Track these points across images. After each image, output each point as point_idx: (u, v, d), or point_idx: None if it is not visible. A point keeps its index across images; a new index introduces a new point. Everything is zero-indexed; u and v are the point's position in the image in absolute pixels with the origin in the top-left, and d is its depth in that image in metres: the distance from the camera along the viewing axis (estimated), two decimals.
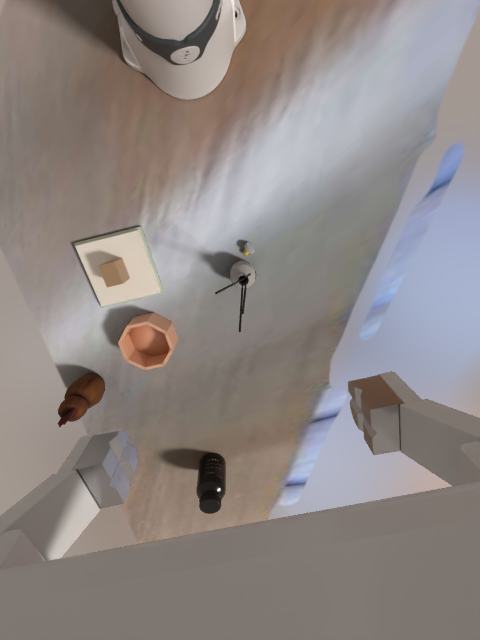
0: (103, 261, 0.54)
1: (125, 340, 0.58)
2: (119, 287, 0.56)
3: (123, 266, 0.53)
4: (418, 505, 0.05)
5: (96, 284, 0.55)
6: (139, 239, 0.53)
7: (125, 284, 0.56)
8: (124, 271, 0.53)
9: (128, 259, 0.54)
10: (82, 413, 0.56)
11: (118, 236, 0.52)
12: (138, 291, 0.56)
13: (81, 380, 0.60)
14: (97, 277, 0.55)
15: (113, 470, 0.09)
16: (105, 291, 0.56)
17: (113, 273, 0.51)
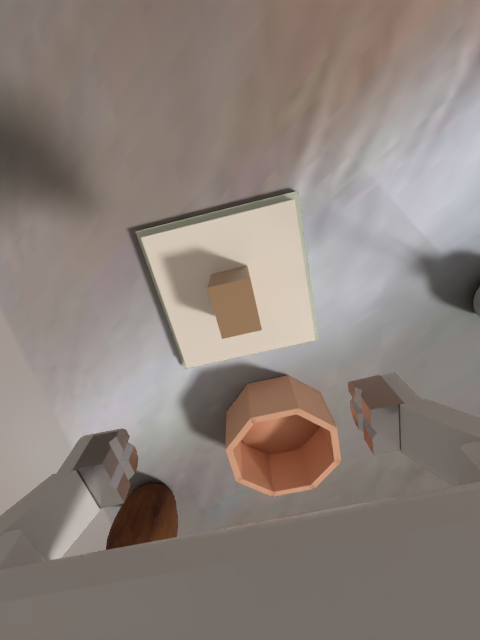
0: (203, 273, 0.23)
1: None
2: None
3: None
4: (418, 505, 0.05)
5: (181, 323, 0.25)
6: (294, 222, 0.22)
7: None
8: None
9: (260, 269, 0.23)
10: None
11: (246, 214, 0.22)
12: (270, 337, 0.26)
13: (138, 509, 0.30)
14: (185, 309, 0.24)
15: (113, 470, 0.09)
16: (199, 338, 0.26)
17: (243, 306, 0.20)
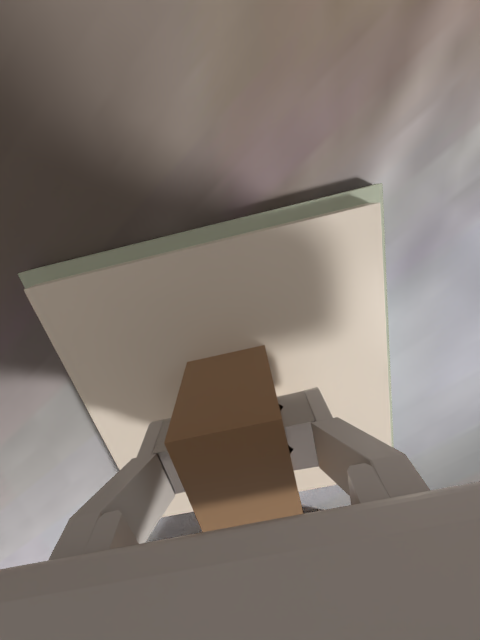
0: (169, 361, 0.11)
1: None
2: None
3: None
4: (418, 505, 0.05)
5: (130, 450, 0.12)
6: (375, 254, 0.10)
7: None
8: None
9: (293, 351, 0.11)
10: None
11: (264, 238, 0.09)
12: (305, 471, 0.13)
13: None
14: (136, 426, 0.12)
15: None
16: None
17: (261, 480, 0.08)
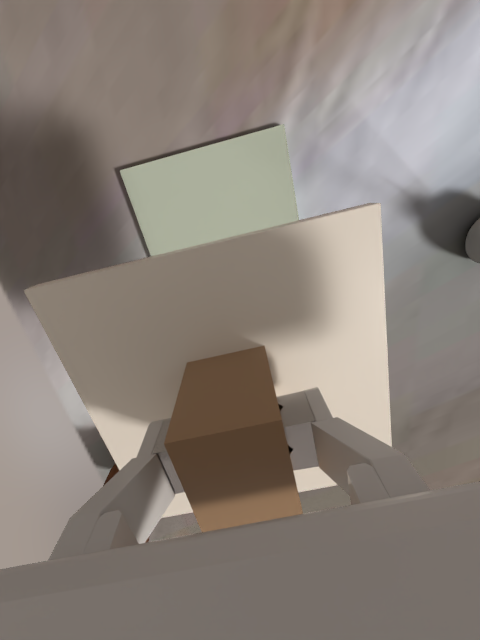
0: (169, 362, 0.11)
1: None
2: None
3: None
4: (418, 505, 0.05)
5: (130, 450, 0.12)
6: (375, 255, 0.10)
7: None
8: None
9: (293, 352, 0.11)
10: None
11: (264, 238, 0.09)
12: (305, 471, 0.13)
13: None
14: (136, 426, 0.12)
15: None
16: None
17: (261, 480, 0.08)
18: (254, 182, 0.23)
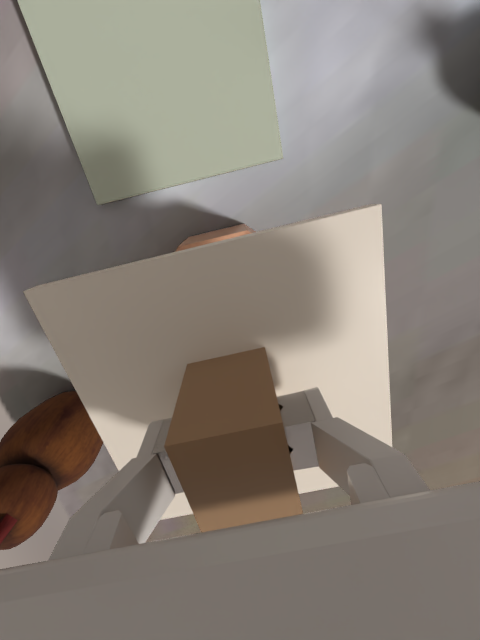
0: (169, 363, 0.11)
1: None
2: None
3: None
4: (418, 505, 0.05)
5: (130, 452, 0.12)
6: (375, 256, 0.10)
7: None
8: None
9: (293, 353, 0.11)
10: (37, 524, 0.18)
11: (265, 239, 0.09)
12: (306, 473, 0.13)
13: (43, 411, 0.22)
14: (136, 428, 0.12)
15: None
16: None
17: (261, 483, 0.08)
18: None
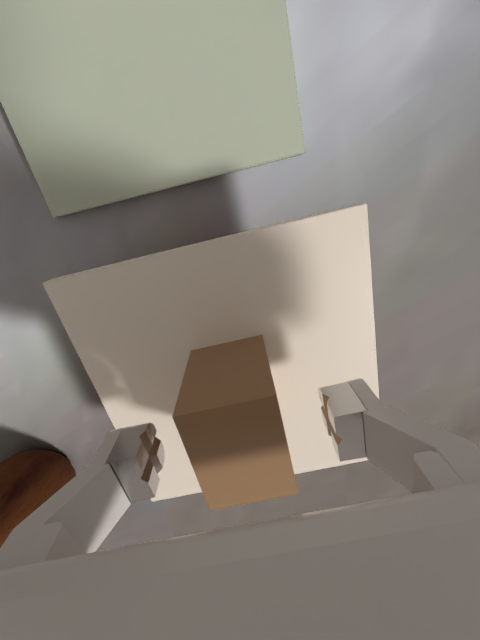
0: (174, 350, 0.12)
1: None
2: None
3: None
4: (418, 504, 0.05)
5: None
6: (362, 250, 0.11)
7: None
8: None
9: (288, 340, 0.12)
10: None
11: (262, 235, 0.10)
12: (301, 454, 0.14)
13: None
14: (143, 410, 0.13)
15: (144, 464, 0.09)
16: (172, 456, 0.14)
17: (258, 451, 0.09)
18: None
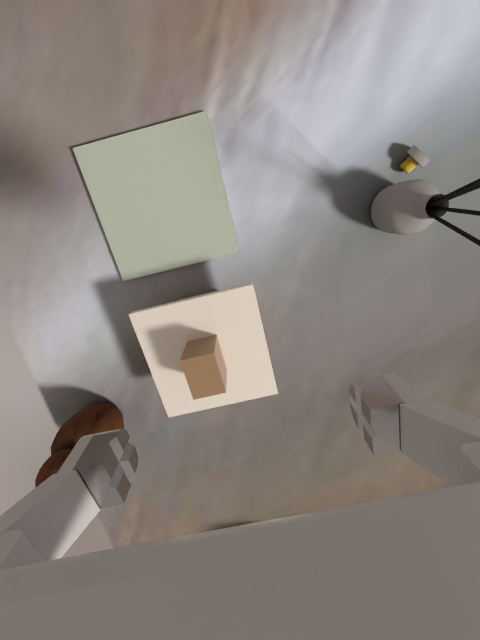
0: (180, 341, 0.28)
1: None
2: None
3: (220, 352, 0.28)
4: (418, 504, 0.05)
5: (163, 380, 0.30)
6: (254, 301, 0.27)
7: None
8: (222, 361, 0.27)
9: (228, 337, 0.28)
10: None
11: (214, 296, 0.27)
12: (238, 391, 0.30)
13: (83, 416, 0.33)
14: (166, 369, 0.29)
15: (113, 470, 0.09)
16: (178, 392, 0.30)
17: (209, 374, 0.25)
18: (185, 159, 0.28)
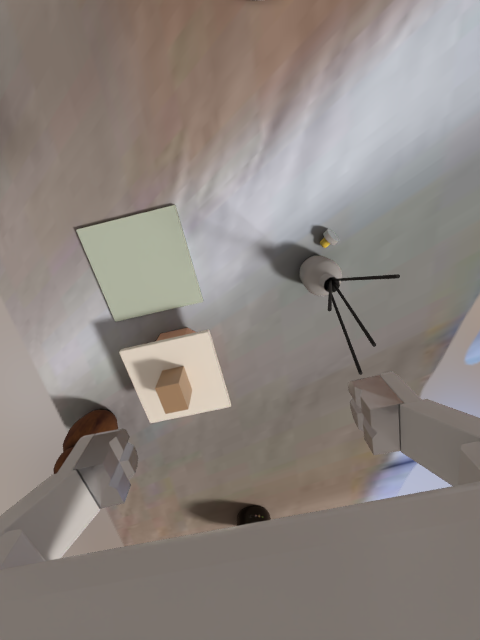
0: (157, 370, 0.39)
1: None
2: None
3: (186, 378, 0.38)
4: (418, 505, 0.05)
5: (145, 397, 0.40)
6: (209, 343, 0.37)
7: None
8: (187, 385, 0.38)
9: (192, 367, 0.39)
10: None
11: (180, 339, 0.37)
12: (201, 405, 0.41)
13: (86, 421, 0.44)
14: (147, 389, 0.40)
15: (113, 470, 0.09)
16: (157, 405, 0.41)
17: (176, 397, 0.35)
18: (160, 237, 0.37)
